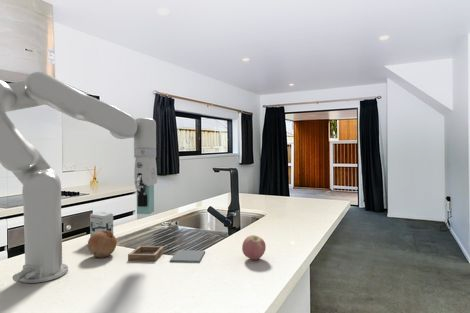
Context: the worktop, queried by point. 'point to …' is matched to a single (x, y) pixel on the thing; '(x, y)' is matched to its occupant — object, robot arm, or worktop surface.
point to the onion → (102, 244)
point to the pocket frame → (146, 257)
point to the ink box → (101, 222)
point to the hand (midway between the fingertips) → (145, 204)
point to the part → (150, 201)
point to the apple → (253, 247)
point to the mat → (187, 256)
